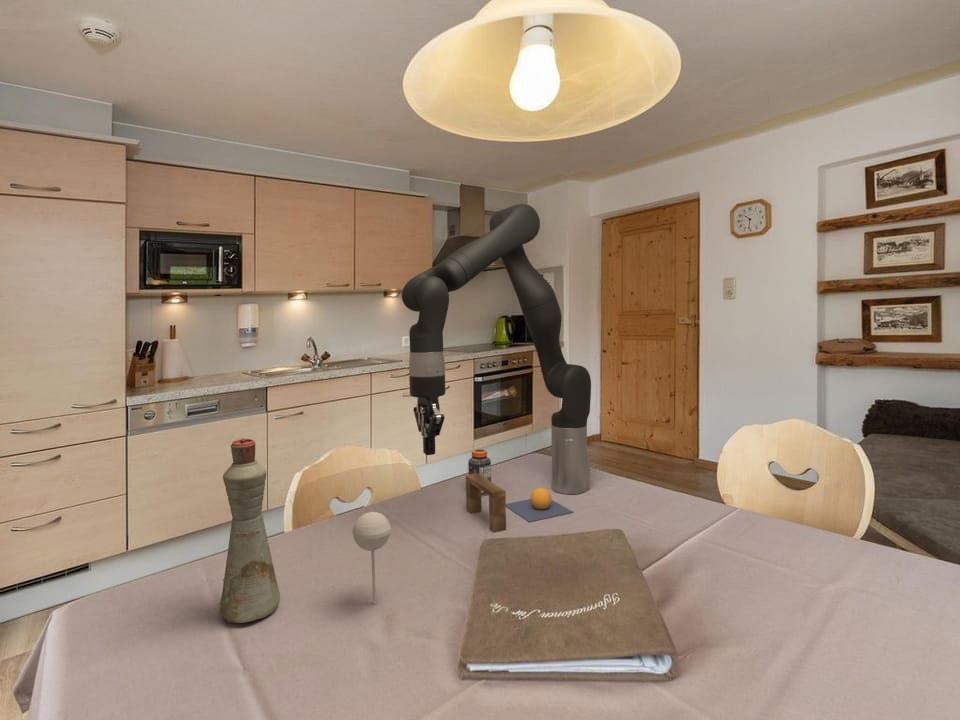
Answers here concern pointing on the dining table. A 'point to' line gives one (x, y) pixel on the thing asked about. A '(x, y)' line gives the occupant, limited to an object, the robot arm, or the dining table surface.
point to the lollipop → (372, 536)
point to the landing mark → (537, 510)
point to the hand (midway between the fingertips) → (429, 453)
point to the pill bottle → (480, 464)
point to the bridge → (496, 500)
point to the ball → (540, 498)
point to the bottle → (247, 542)
